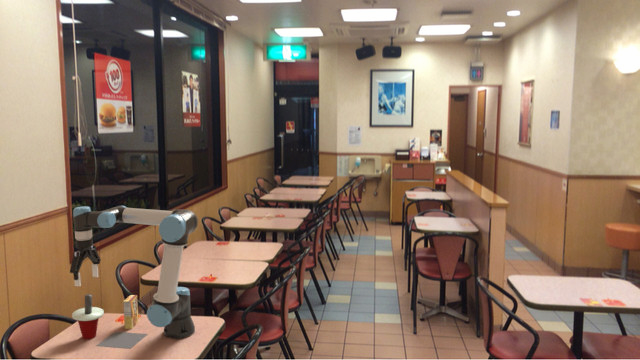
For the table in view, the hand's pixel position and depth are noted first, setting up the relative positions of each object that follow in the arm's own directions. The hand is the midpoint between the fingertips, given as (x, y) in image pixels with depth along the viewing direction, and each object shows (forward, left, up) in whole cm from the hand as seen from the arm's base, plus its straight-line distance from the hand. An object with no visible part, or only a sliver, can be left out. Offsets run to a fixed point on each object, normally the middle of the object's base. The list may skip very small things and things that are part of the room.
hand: (87, 281), depth 240 cm
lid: (0, 0, -17) cm, 17 cm away
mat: (-18, +1, -29) cm, 34 cm away
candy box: (-13, -16, -29) cm, 35 cm away
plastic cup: (0, 0, -29) cm, 29 cm away
